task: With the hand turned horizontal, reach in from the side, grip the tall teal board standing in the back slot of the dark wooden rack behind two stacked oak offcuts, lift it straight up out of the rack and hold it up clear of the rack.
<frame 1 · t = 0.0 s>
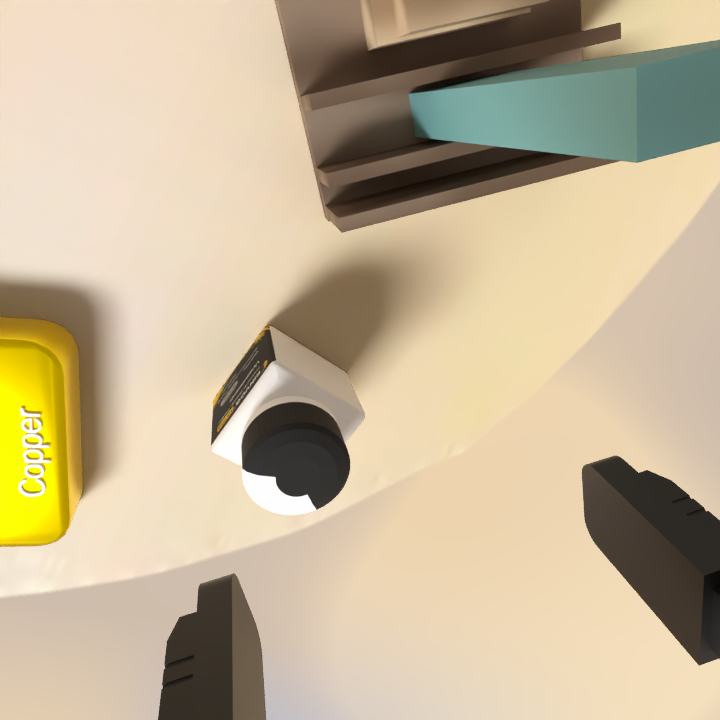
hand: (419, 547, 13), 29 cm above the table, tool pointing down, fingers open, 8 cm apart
medicine bottle: (280, 384, 43), on the table
teal board: (450, 106, 36), point 1 cm above the table, touching wooden rack
wooden rack: (435, 55, 36), on the table
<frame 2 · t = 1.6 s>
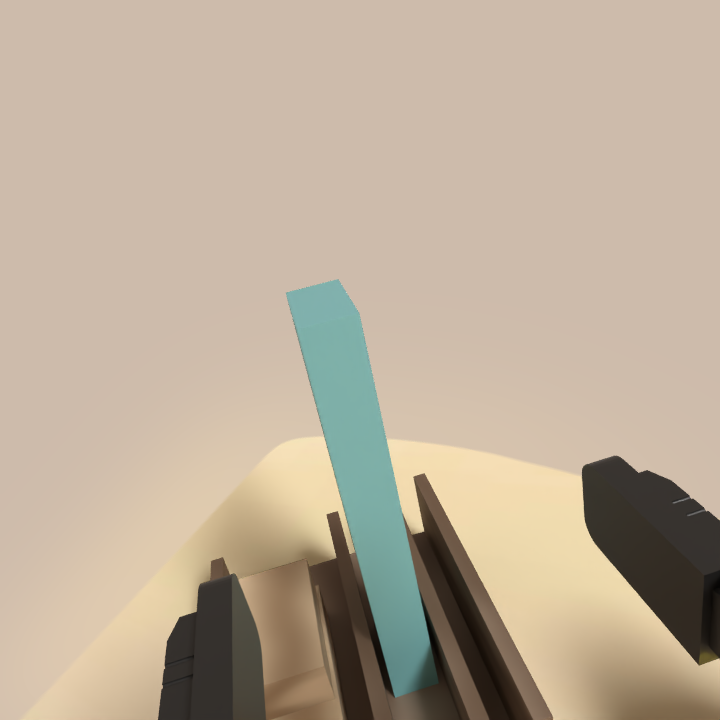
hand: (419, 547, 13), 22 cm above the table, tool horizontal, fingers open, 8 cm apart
teal board: (404, 652, 34), point 1 cm above the table, touching wooden rack
wooden rack: (360, 684, 34), on the table
lower oak offcut: (296, 687, 33), point 1 cm above the table, touching upper oak offcut, wooden rack
upper oak offcut: (284, 650, 33), point 4 cm above the table, touching lower oak offcut
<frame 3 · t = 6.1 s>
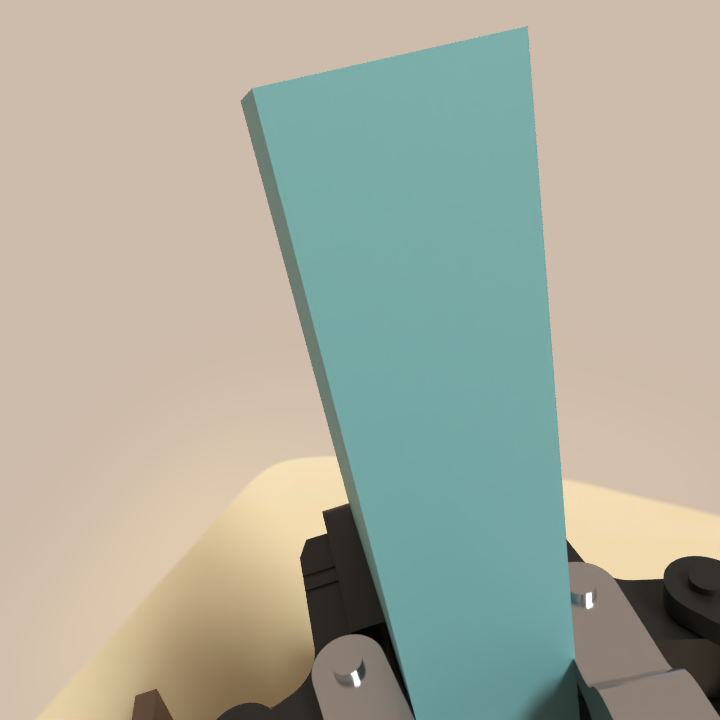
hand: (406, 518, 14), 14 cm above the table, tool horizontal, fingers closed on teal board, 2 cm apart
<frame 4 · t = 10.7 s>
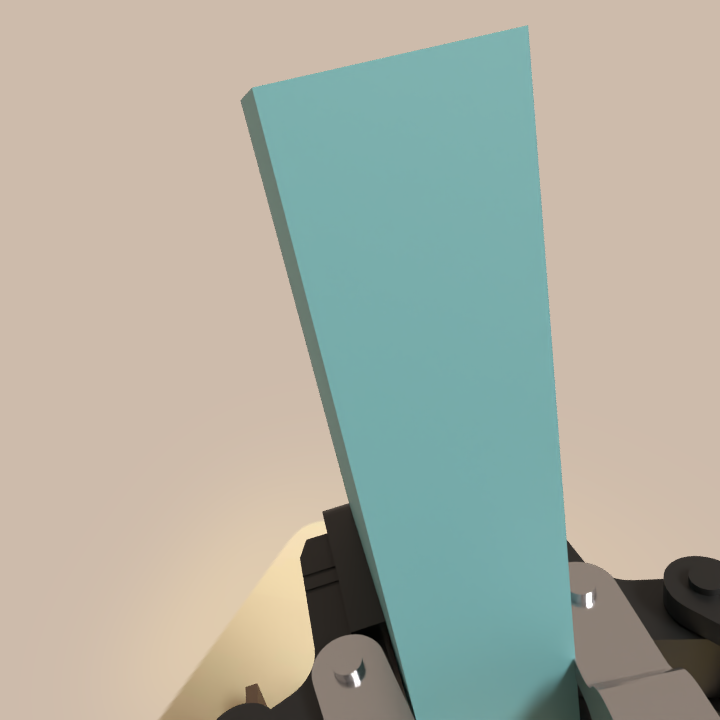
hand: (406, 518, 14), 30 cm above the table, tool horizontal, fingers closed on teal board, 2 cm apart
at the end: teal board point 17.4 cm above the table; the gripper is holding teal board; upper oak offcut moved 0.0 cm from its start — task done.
